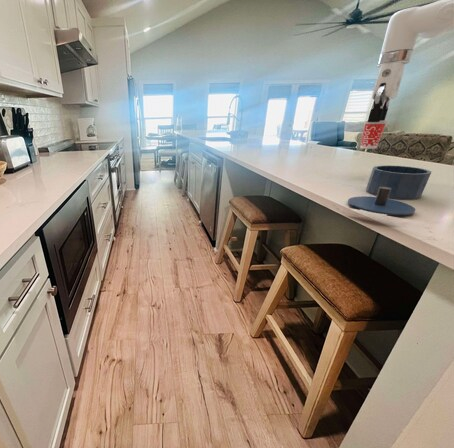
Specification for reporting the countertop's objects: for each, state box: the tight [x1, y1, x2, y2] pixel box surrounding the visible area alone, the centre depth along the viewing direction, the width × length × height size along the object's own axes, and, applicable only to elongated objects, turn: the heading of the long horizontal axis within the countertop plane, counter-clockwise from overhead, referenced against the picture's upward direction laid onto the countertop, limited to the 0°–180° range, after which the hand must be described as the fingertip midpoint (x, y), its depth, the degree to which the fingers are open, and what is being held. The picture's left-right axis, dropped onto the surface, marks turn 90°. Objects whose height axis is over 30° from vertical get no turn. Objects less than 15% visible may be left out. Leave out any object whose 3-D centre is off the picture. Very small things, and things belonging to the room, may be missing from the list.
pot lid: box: [347, 187, 416, 216], centre depth 64 cm, size 14×14×6 cm
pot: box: [365, 165, 432, 201], centre depth 74 cm, size 13×13×8 cm
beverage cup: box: [359, 120, 389, 150], centre depth 84 cm, size 6×6×14 cm
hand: (376, 120), depth 83 cm, fingers closed on beverage cup, 6 cm apart
